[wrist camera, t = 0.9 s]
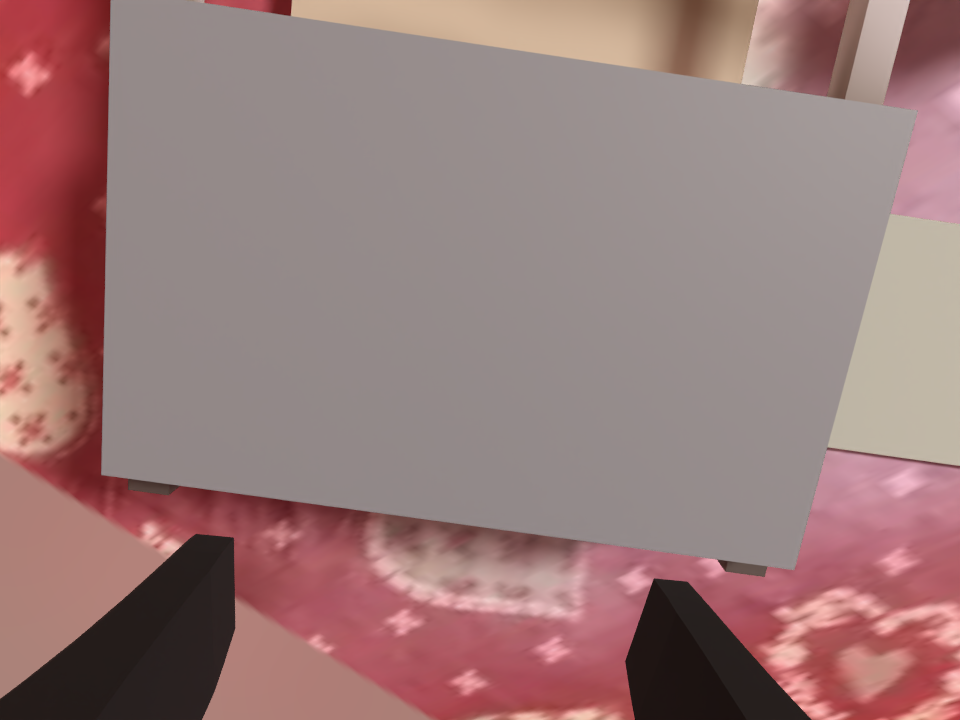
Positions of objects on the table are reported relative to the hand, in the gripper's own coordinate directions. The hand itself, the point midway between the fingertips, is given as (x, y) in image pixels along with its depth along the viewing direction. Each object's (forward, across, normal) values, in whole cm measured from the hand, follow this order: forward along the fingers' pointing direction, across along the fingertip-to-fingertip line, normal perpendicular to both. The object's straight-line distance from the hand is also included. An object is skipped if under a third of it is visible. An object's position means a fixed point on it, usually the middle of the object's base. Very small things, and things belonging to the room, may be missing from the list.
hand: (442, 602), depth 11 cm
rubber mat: (+14, -17, -2) cm, 22 cm away
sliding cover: (+8, -1, -3) cm, 8 cm away
